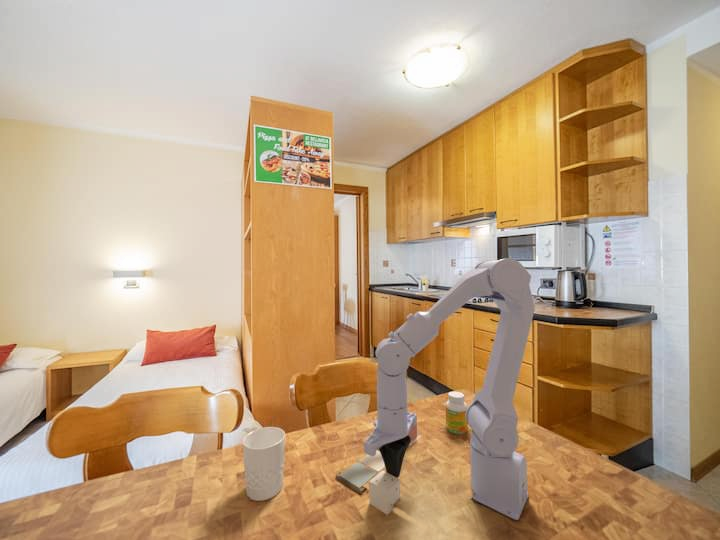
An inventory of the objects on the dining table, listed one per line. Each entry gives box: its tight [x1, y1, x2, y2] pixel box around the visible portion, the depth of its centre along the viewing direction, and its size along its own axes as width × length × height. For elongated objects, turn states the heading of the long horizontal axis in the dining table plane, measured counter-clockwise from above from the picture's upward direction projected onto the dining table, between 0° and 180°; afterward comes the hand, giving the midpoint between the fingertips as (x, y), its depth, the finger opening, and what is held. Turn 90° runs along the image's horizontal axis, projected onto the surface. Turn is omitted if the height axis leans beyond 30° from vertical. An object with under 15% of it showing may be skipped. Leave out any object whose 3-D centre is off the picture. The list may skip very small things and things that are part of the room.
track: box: [335, 433, 422, 495], centre depth 68 cm, size 7×24×1 cm, turn 139°
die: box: [368, 469, 401, 516], centre depth 54 cm, size 4×4×4 cm
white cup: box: [242, 426, 286, 502], centre depth 58 cm, size 8×8×10 cm
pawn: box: [407, 410, 418, 441], centre depth 74 cm, size 4×4×7 cm
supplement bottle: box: [445, 391, 469, 435], centre depth 78 cm, size 5×5×10 cm
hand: (393, 475), depth 56 cm, fingers closed
